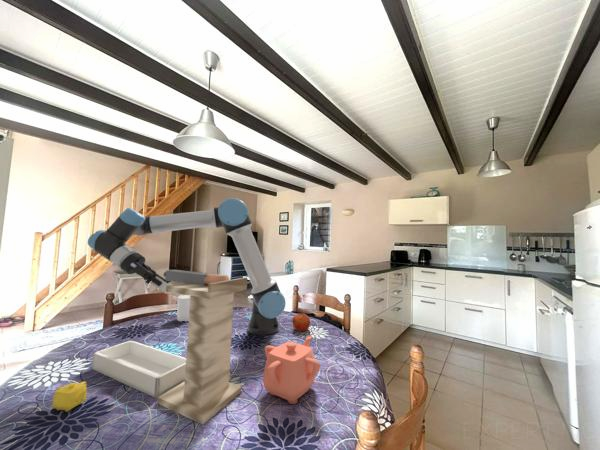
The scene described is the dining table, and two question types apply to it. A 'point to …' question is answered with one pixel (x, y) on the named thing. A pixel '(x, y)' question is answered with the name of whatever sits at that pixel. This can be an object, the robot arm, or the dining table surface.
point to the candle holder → (183, 307)
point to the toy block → (69, 396)
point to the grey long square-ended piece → (193, 277)
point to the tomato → (301, 322)
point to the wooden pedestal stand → (206, 351)
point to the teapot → (290, 370)
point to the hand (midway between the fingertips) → (175, 292)
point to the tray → (141, 367)
